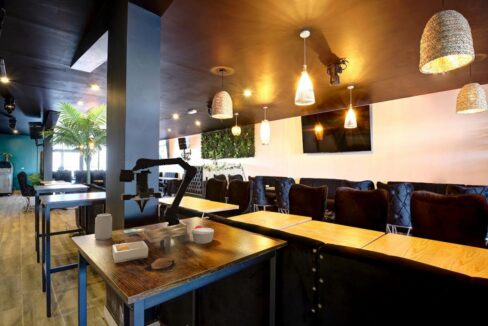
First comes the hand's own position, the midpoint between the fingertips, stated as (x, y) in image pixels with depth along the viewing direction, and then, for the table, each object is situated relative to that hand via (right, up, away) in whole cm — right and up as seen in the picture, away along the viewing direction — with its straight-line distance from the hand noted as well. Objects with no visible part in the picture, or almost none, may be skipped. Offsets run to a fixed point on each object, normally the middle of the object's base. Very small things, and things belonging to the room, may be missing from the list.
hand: (141, 212), depth 124 cm
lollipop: (+28, -14, +12) cm, 34 cm away
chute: (+12, -10, -13) cm, 21 cm away
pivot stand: (+18, -13, -17) cm, 28 cm away
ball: (+4, -10, -26) cm, 28 cm away
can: (-18, -13, -3) cm, 22 cm away
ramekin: (+32, -14, -3) cm, 35 cm away
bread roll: (+22, -14, -35) cm, 43 cm away
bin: (+6, -13, -25) cm, 29 cm away
